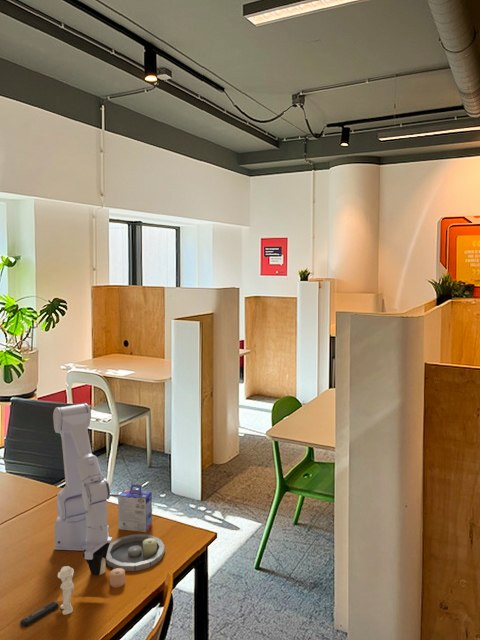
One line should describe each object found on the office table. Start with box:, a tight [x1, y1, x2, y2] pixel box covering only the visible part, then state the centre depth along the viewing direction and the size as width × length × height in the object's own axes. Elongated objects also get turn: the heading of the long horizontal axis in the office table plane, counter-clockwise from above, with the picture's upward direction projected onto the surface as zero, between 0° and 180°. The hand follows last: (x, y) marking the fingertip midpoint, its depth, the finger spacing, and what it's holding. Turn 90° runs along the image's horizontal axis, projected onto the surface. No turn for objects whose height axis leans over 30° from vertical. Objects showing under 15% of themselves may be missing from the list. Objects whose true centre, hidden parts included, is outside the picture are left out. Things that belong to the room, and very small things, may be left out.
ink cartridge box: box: [117, 484, 153, 533], centre depth 172 cm, size 10×6×14 cm, turn 79°
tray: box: [106, 533, 166, 572], centre depth 156 cm, size 17×17×2 cm
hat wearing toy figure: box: [57, 565, 75, 616], centre depth 133 cm, size 9×4×12 cm, turn 27°
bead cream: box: [98, 557, 107, 576], centre depth 148 cm, size 4×4×4 cm
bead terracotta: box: [109, 568, 126, 589], centre depth 142 cm, size 4×4×4 cm
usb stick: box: [19, 601, 59, 628], centre depth 131 cm, size 10×3×2 cm, turn 143°
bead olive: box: [143, 538, 157, 558], centre depth 156 cm, size 4×4×4 cm
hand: (98, 569), depth 148 cm, fingers closed on bead cream, 4 cm apart
